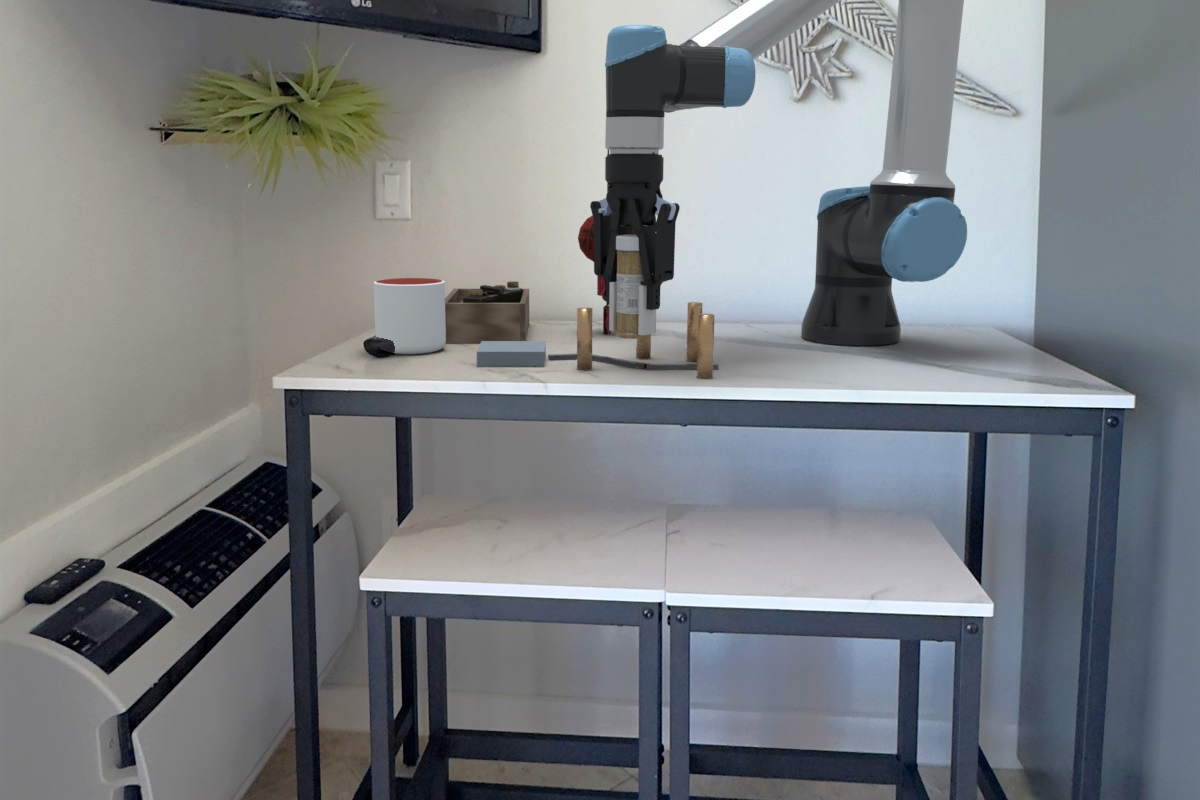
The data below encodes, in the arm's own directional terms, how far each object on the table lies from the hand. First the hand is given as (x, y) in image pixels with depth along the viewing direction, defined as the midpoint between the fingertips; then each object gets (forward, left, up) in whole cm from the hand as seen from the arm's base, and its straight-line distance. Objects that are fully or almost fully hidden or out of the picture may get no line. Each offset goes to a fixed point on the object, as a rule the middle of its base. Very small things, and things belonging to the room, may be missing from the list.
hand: (632, 331), depth 145 cm
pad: (+16, -4, -5) cm, 17 cm away
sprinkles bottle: (0, 0, -1) cm, 1 cm away
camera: (+21, -28, -5) cm, 36 cm away
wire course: (0, +1, -5) cm, 5 cm away
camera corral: (+21, -30, -5) cm, 37 cm away
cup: (+31, -13, -5) cm, 34 cm away
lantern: (+2, -29, -5) cm, 30 cm away
